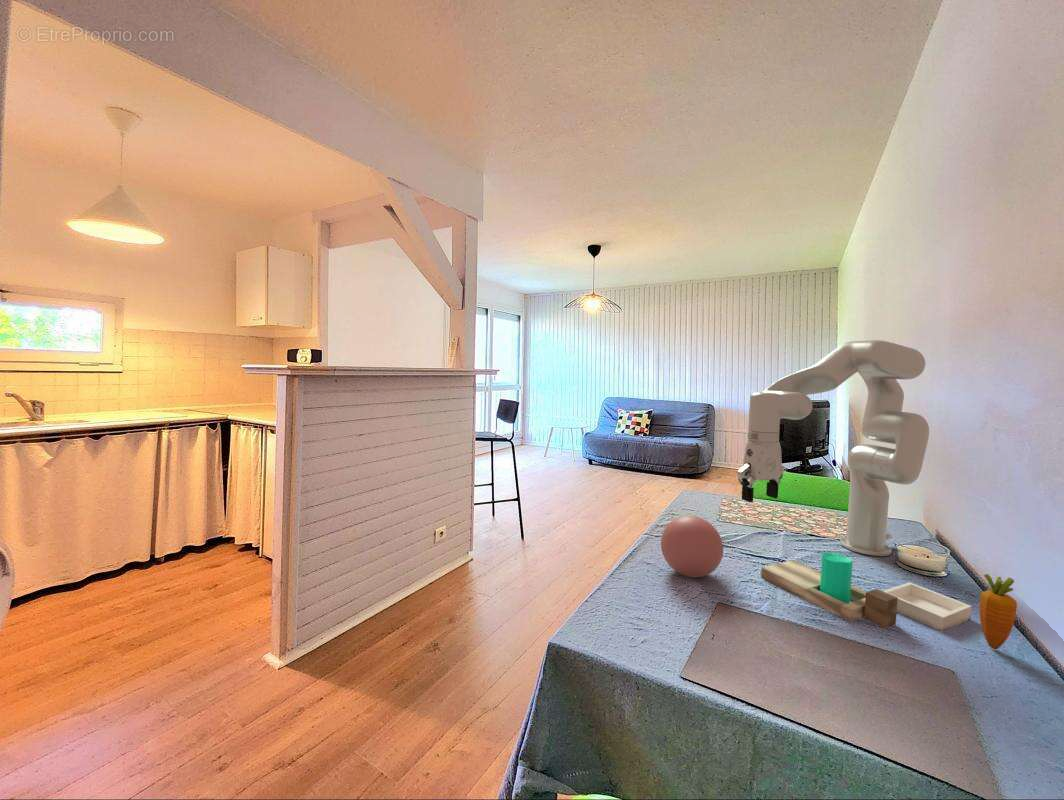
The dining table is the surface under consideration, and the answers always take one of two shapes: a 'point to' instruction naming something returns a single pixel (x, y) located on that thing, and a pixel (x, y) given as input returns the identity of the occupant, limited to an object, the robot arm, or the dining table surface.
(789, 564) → the wooden slotted peg board
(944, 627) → the tray
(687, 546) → the brown egg
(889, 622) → the block
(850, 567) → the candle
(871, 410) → the robot arm
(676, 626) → the dining table surface
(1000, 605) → the carrot
